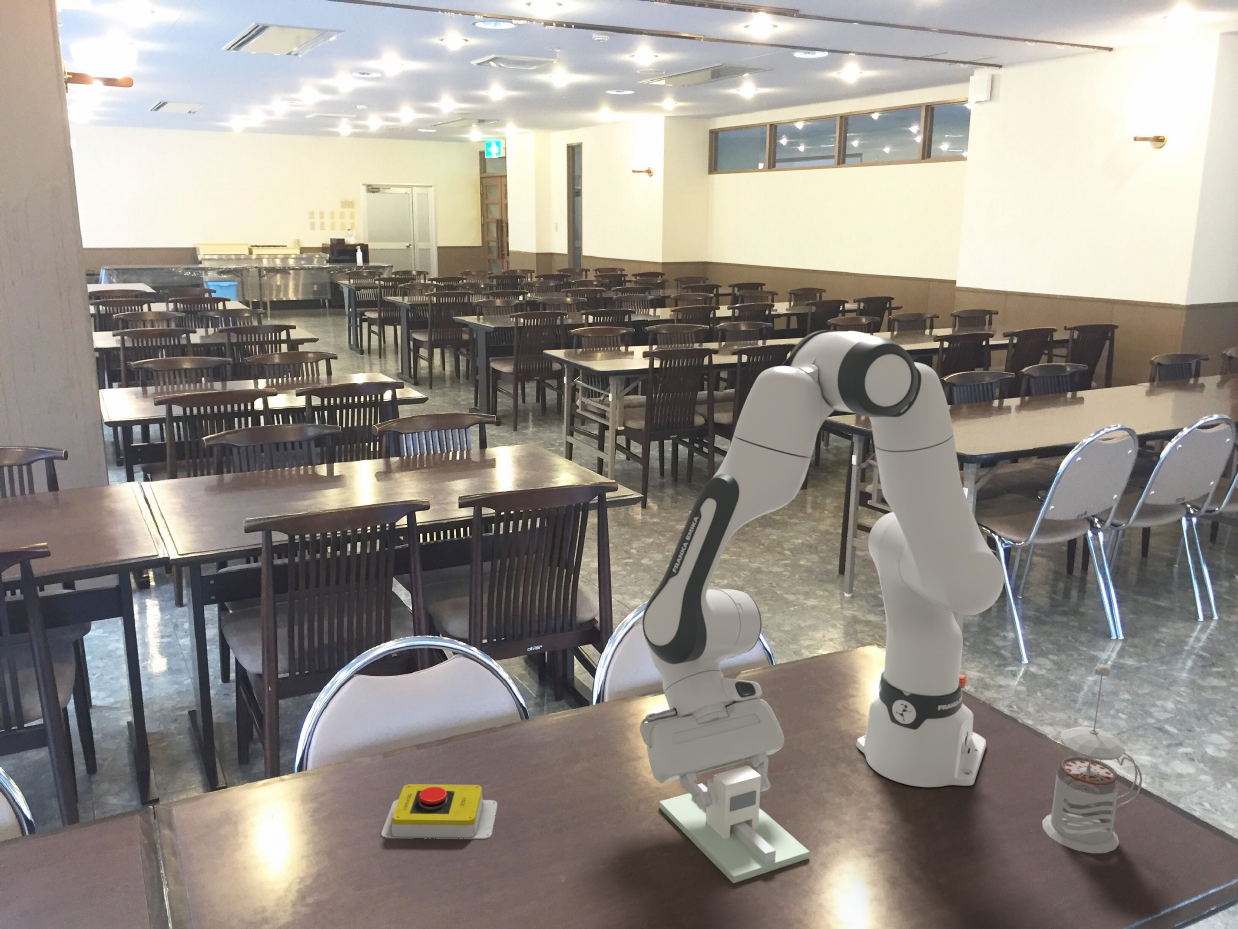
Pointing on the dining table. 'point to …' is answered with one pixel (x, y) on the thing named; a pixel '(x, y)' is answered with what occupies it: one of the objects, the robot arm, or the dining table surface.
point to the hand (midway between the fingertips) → (735, 798)
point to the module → (733, 799)
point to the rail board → (736, 840)
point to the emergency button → (440, 813)
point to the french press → (1088, 789)
